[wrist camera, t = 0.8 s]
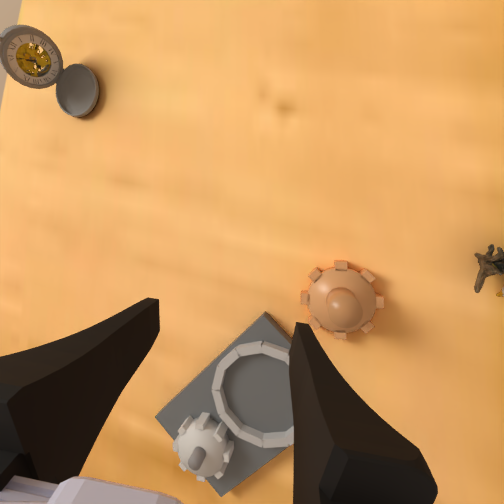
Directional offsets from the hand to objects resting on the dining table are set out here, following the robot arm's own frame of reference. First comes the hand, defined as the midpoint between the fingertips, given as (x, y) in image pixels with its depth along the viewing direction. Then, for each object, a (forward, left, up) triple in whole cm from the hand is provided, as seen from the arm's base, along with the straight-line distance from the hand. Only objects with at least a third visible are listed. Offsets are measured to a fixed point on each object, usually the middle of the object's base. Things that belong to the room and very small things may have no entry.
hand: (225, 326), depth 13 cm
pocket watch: (+37, +2, -18) cm, 41 cm away
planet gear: (-7, -3, -18) cm, 19 cm away
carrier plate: (-9, +15, -18) cm, 24 cm away
